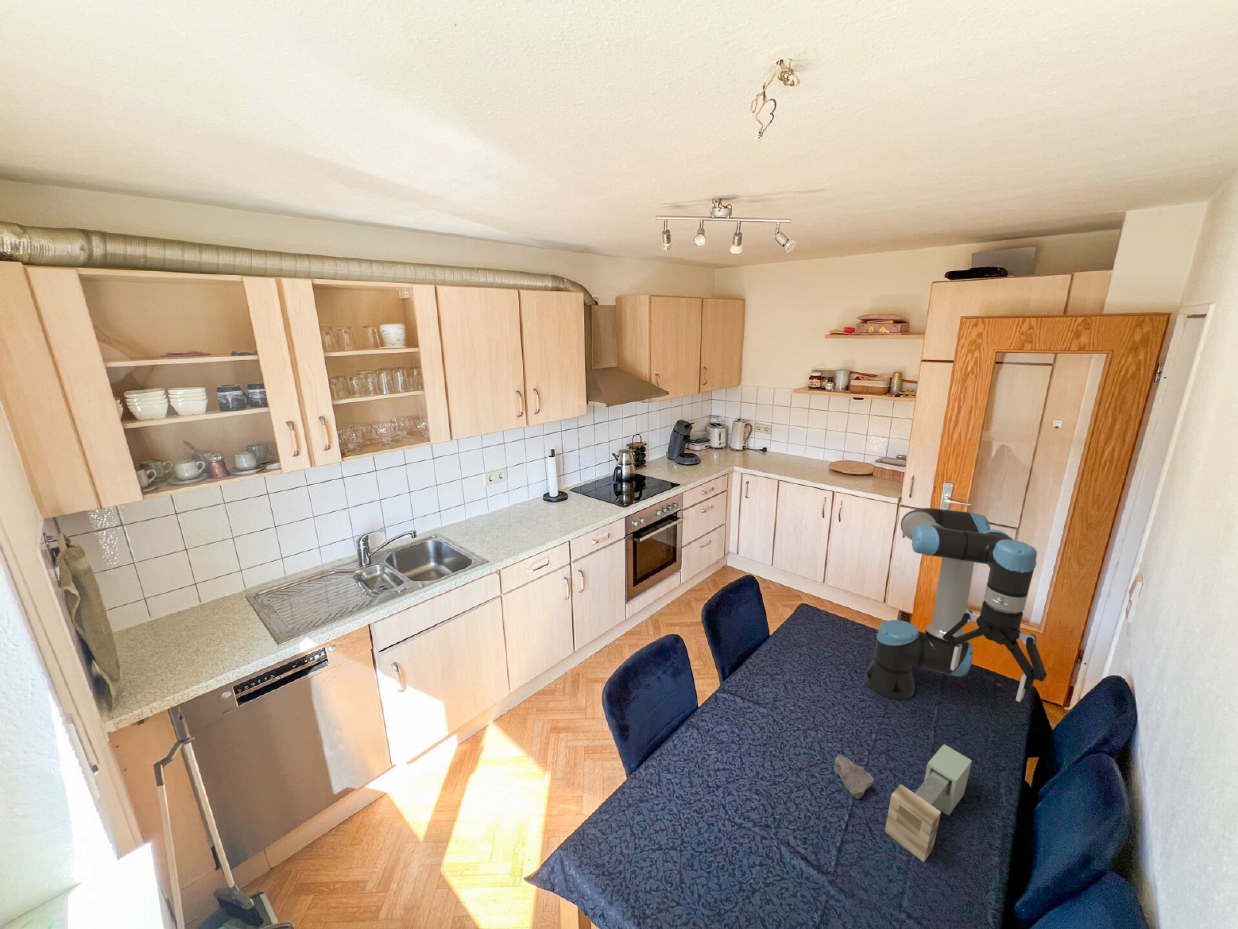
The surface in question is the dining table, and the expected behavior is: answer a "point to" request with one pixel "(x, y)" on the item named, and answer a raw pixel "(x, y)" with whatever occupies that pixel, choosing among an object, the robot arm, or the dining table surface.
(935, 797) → the grey-banded white peg
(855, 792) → the stone
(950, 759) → the sleeve
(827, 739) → the dining table surface
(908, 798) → the socket block
